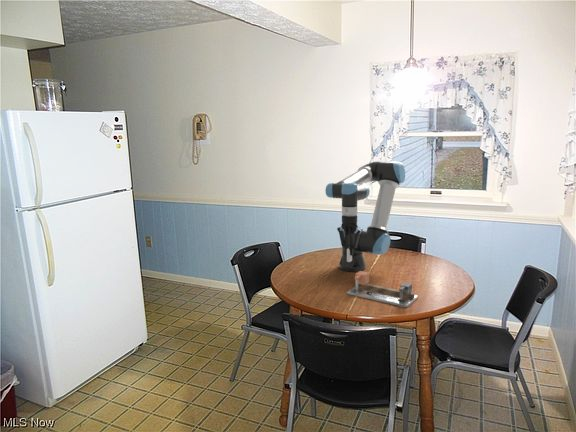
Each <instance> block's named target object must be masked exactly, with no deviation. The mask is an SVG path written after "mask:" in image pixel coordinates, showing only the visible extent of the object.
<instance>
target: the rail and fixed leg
mask: <svg viewBox="0 0 576 432" xmlns="http://www.w3.org/2000/svg"><path fill="white" fill-rule="evenodd" d="M358 287H360V288H364V289H369V290H373V291H378V292H382V293H387V294H392V295H396V296H400V301H403V297H405V298H410V299H413V298H414V295H416V293H415V292H413V283H411V282H407V281H403V283H401V284H400V288H399V289H396V288H392V287H387V286H381V285H377V284H371V283H367V284H366V285H361V284H358Z"/></svg>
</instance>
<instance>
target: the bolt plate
mask: <svg viewBox="0 0 576 432" xmlns="http://www.w3.org/2000/svg"><path fill="white" fill-rule="evenodd" d="M346 294H347V295H350V296H354V297H359V298H363V299H367V300H373V301H376V302H380V303H385V304H388V305H389V304H390V305H394V306H398V307H402V308H406V309H407V308H409V307H410V306H411V305H412V304H413V303H414V302H415V301H416V300H417V299H418V298H419V297H418V296H419V295H417V294H414V298H413V299H410V298H405V297H403V301H400V296H396V295H392V294H387V293H382V292H378V291H373V290H369V289H364V288H360V287H358V290H356V285H355V286H353V287H352V288H351V289H348V290H347V291H346Z"/></svg>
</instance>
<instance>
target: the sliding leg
mask: <svg viewBox="0 0 576 432" xmlns="http://www.w3.org/2000/svg"><path fill="white" fill-rule="evenodd" d="M354 280H355V286H356V290H358V284H361V285H366V284H367V283H368V284H370V272H368V271H364V270H362V271H356V273H355V277H354Z"/></svg>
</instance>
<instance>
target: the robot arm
mask: <svg viewBox="0 0 576 432" xmlns="http://www.w3.org/2000/svg"><path fill="white" fill-rule="evenodd" d="M405 179H406V169H405V165H404V163H402V162H400V161H380V160H379V161H377V160H376V161H373V162H369V163H367V164H366V163H365V164H364V165H362V166H360V167H359V168H358V169H357V170H356V171H355V172H354V173H352V174H350V175H348V176H347V177H345V178H343V179H342V180H340V181H338V182H335V183H333V182H332V183H331V182H330V183H328V184H326V187H325V190H324V191H325V195H326V197H328V198H329V199H330V198H333V199H341V214H342V215H341V224H340V226H339V227H337V228H336V230H337V232H338V235H339V240H340V244H341V249H342V250H341V254H342V255H341V257H340V260H339V263H338V267H339V269H340V270H341V271H346V272H352V273H353V272H359V271H364V270H366V268H367V264H366V261H365V257H364V253H368V254H372V255H380V256H381V255H384V254H386V253H387V252H388V250H389V248H390V245H391V236H390V234H389V231H388V229H387V228H388V223H389V219H390V213H391V211H392V205H393V200H394V196H395V192H396V189H398V188H399V187H400V184H403V183H404V182H405ZM369 182H378V184H379V190H378V193H377V194H378V195H377V199H376V203H375V206H374V211H373V215H372V220H371V223H370V225H369V226H368V227H367V228H366V230H364V228H363V227H361V226H359V225H358V201H361V200H365V199H366V198H368V197H369V195H370V191H371V190H370V187H369V186H368V185H366V184H367V183H369Z"/></svg>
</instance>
